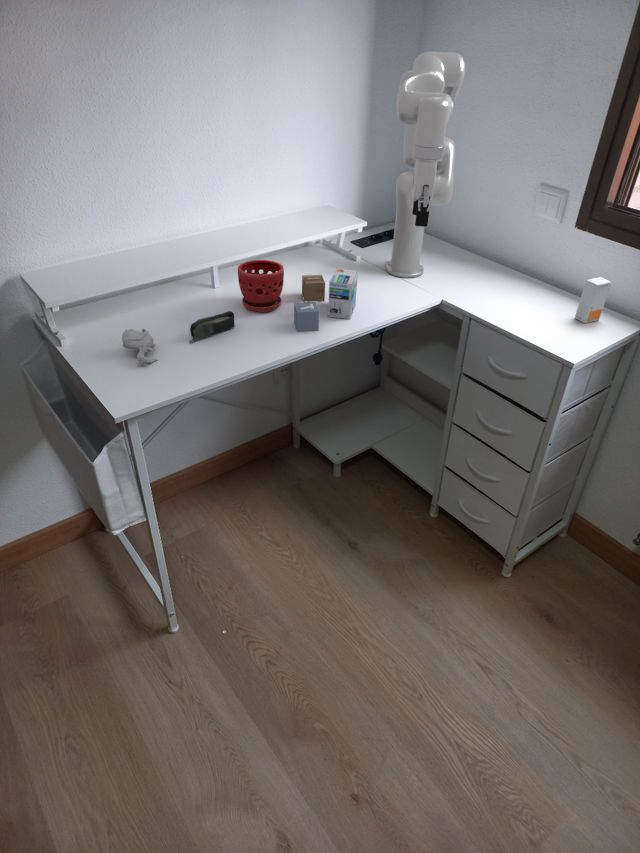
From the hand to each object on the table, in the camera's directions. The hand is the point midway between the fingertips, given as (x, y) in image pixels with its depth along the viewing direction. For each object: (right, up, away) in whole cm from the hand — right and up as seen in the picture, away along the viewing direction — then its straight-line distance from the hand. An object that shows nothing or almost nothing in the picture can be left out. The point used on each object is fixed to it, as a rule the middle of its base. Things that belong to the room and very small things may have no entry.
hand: (419, 220), depth 168 cm
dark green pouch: (-56, -31, +1) cm, 64 cm away
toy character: (-72, -38, -10) cm, 82 cm away
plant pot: (-44, -20, +16) cm, 51 cm away
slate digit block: (-31, -28, +6) cm, 42 cm away
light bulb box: (-20, -22, +15) cm, 33 cm away
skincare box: (+52, -24, +15) cm, 59 cm away
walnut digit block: (-29, -16, +22) cm, 40 cm away
